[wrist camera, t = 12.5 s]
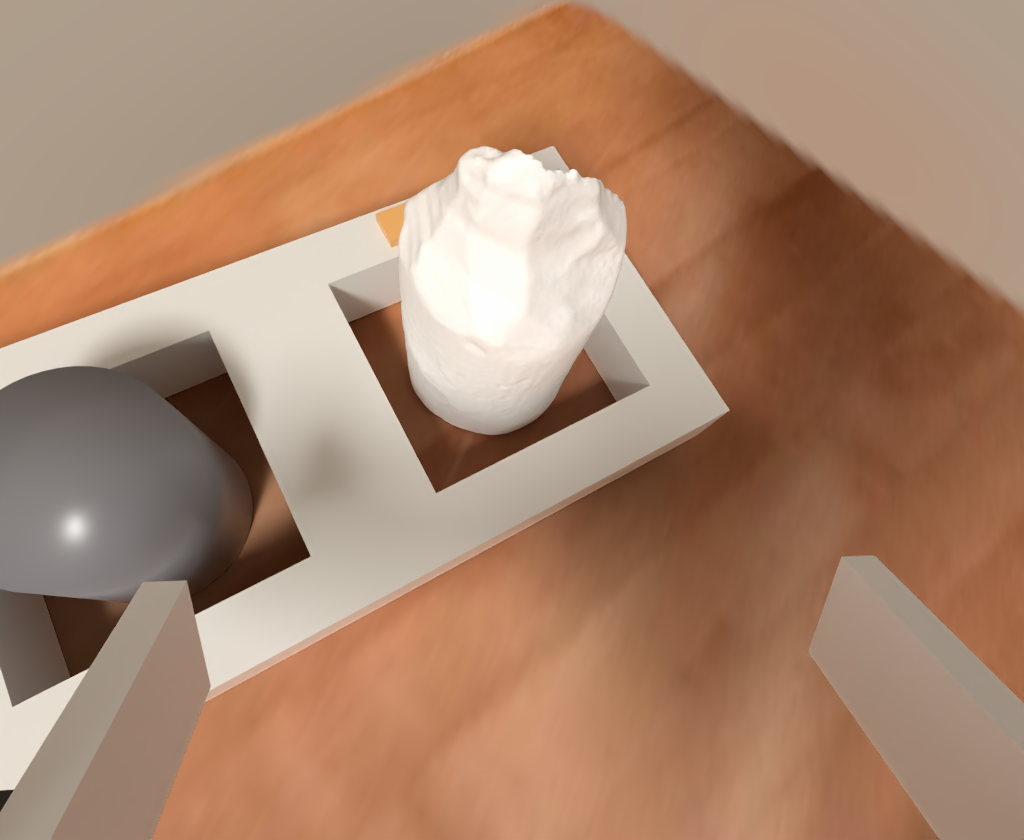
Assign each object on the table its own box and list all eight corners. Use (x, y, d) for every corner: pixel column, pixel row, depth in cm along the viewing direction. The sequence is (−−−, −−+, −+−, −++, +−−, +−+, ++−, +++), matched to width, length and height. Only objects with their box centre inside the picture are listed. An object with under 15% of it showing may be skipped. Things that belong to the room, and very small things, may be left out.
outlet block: (694, 436, 24) (775, 375, 18) (25, 799, 18) (-168, 879, 12) (540, 197, 26) (569, 79, 21) (-84, 440, 20) (-282, 367, 15)
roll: (648, 26, 14) (711, 241, 12) (551, 300, 25) (576, 432, 23) (372, 25, 13) (397, 260, 11) (400, 311, 24) (415, 450, 22)
